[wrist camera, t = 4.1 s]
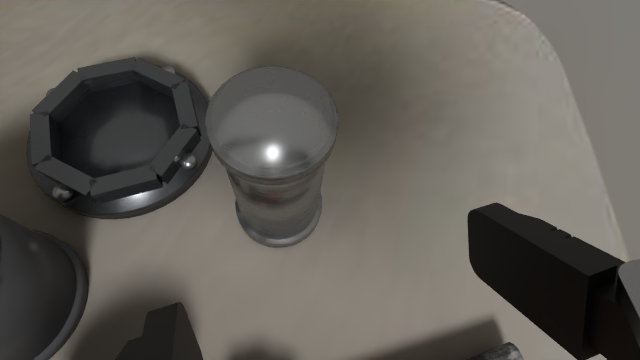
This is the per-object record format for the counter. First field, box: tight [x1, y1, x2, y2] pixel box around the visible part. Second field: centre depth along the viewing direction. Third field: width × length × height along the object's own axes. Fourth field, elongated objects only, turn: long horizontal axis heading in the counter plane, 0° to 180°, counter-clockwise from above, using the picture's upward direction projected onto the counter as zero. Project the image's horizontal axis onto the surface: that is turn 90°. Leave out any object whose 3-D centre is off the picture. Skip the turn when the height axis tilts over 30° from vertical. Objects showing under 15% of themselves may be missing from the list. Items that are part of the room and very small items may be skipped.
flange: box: [27, 57, 213, 219], centre depth 24 cm, size 11×11×2 cm
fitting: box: [206, 66, 338, 248], centre depth 19 cm, size 5×5×10 cm
